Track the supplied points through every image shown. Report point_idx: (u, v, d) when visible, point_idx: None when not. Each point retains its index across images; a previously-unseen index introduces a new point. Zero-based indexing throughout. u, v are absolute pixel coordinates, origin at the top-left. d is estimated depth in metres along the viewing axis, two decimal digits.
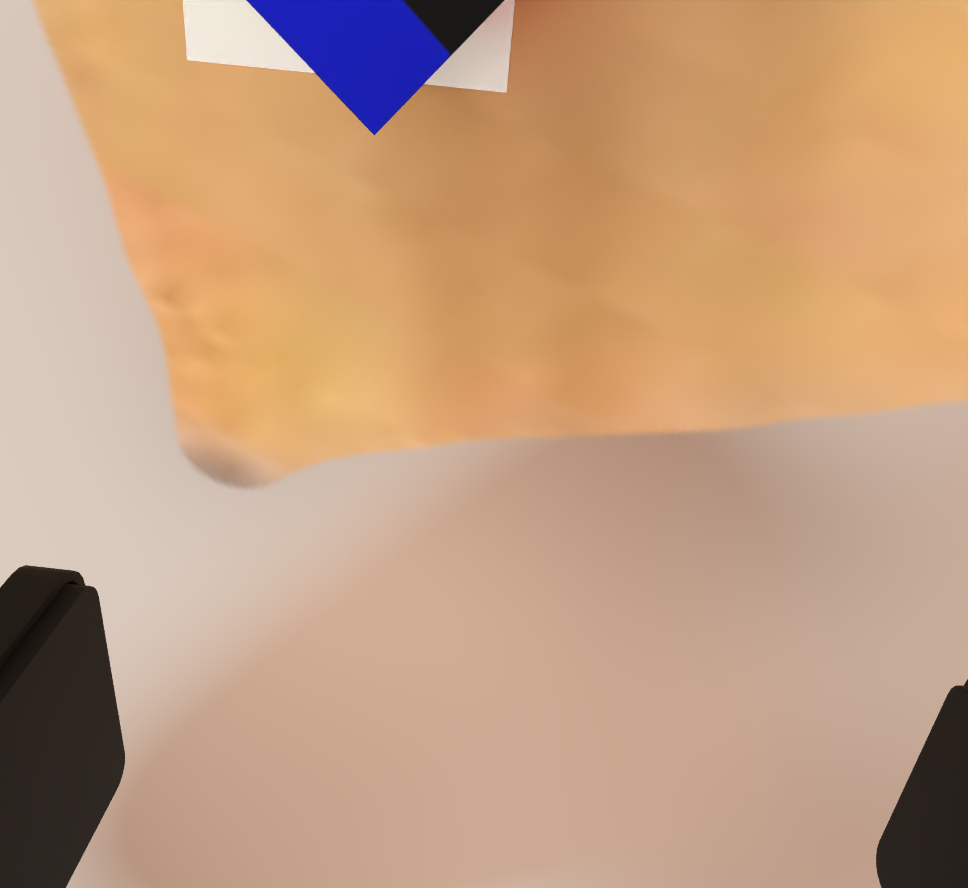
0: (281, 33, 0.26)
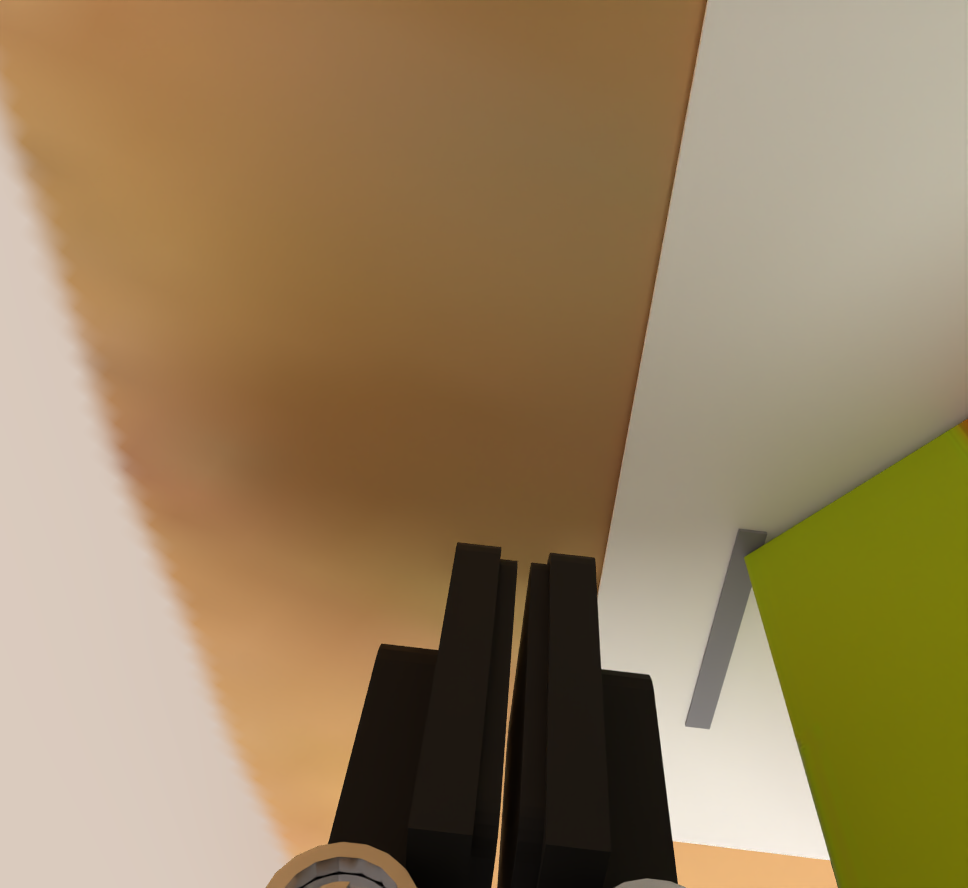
0: None
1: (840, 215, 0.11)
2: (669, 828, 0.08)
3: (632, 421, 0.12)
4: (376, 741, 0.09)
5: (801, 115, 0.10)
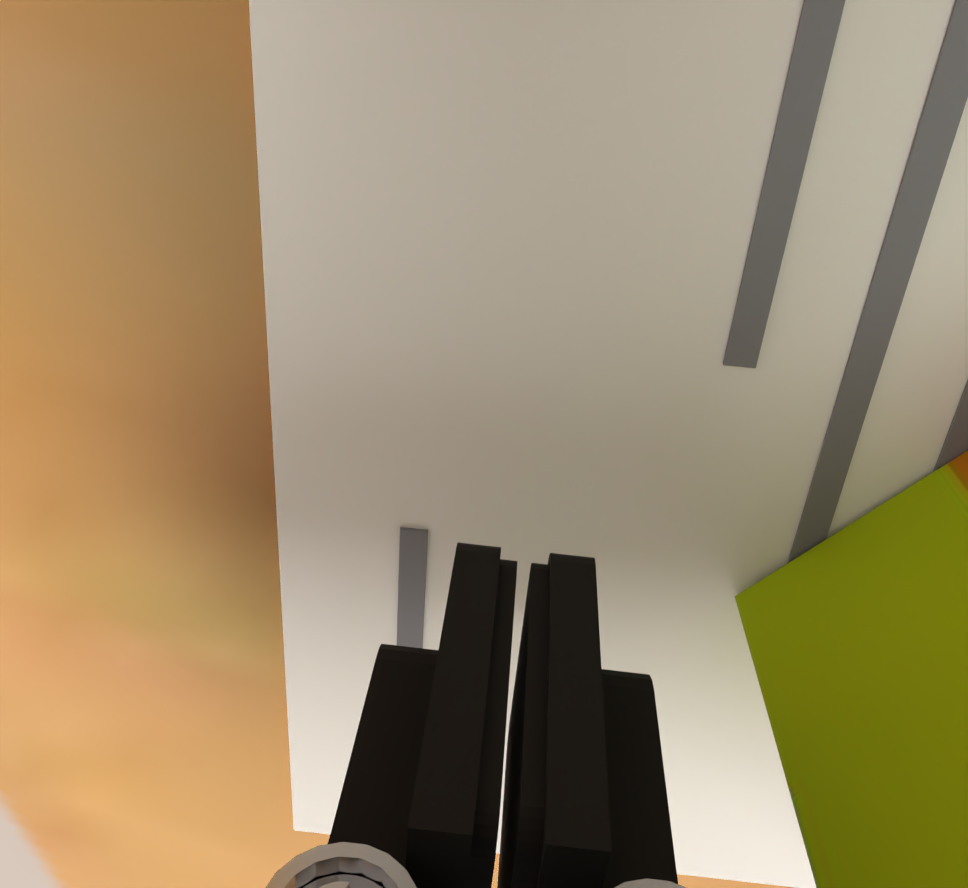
0: None
1: (429, 211, 0.11)
2: (669, 828, 0.08)
3: (273, 420, 0.12)
4: (376, 741, 0.09)
5: (368, 112, 0.10)
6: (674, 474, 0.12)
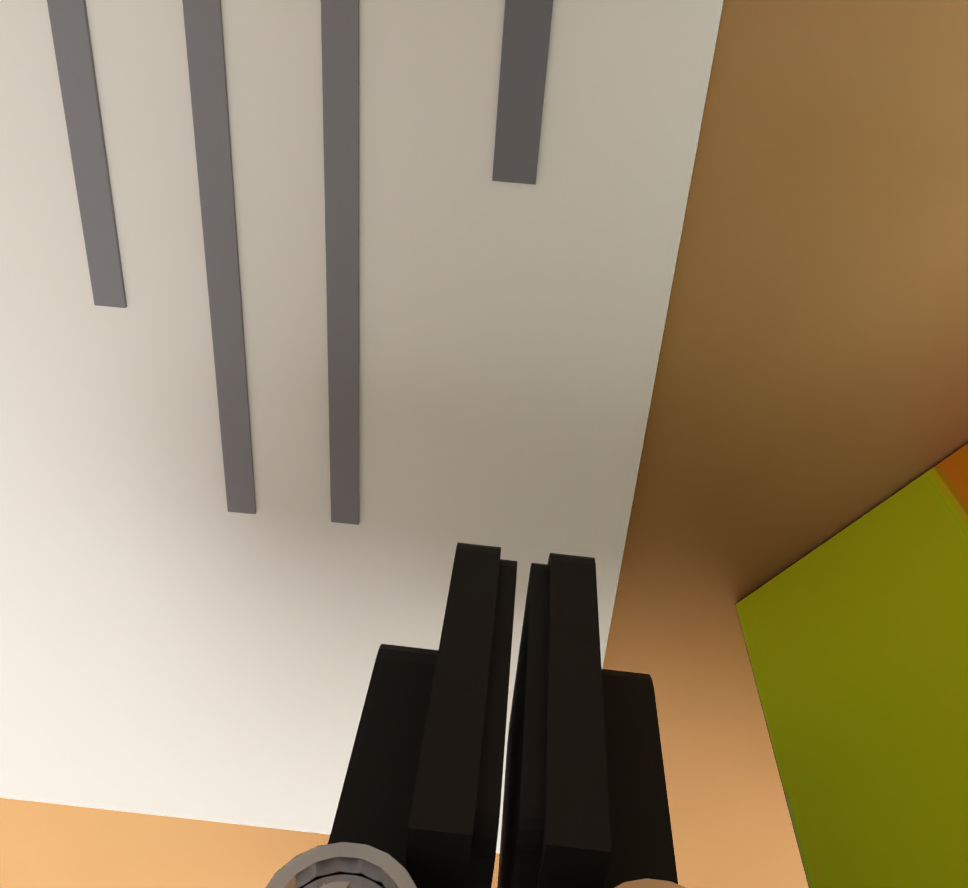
0: None
1: None
2: (669, 827, 0.08)
3: None
4: (376, 741, 0.09)
5: None
6: (97, 417, 0.12)
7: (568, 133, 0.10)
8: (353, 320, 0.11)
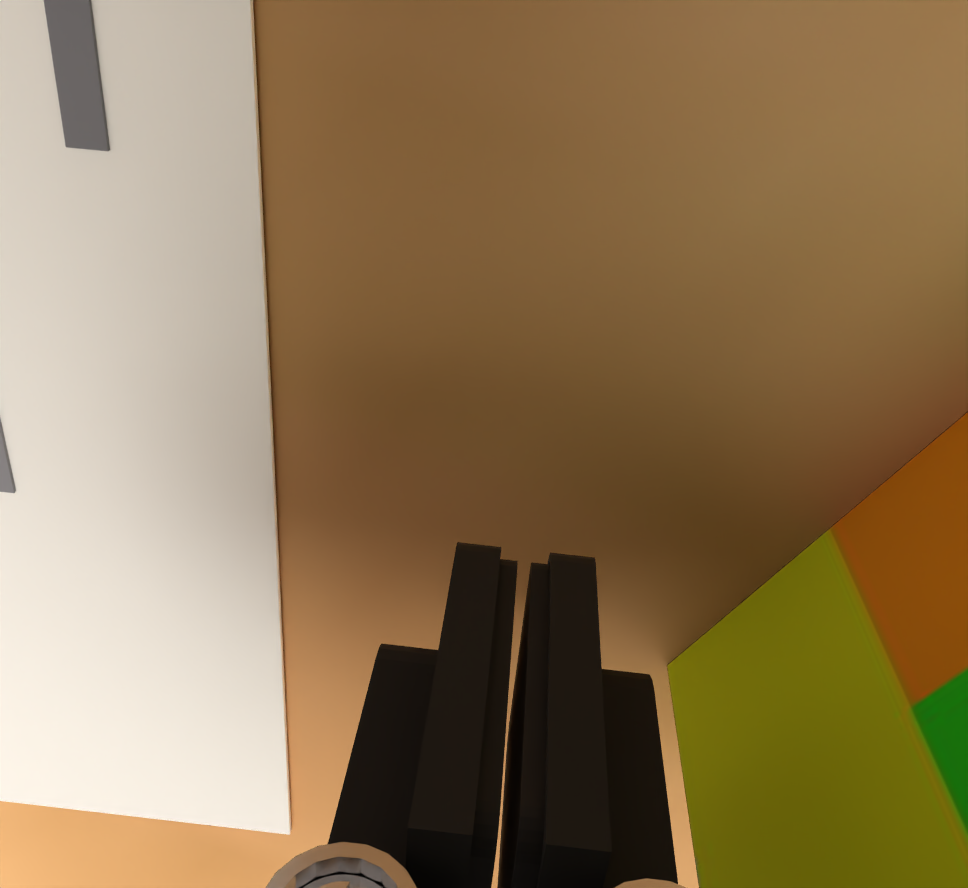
0: None
1: None
2: (669, 828, 0.08)
3: None
4: (376, 741, 0.09)
5: None
6: None
7: (129, 100, 0.10)
8: None
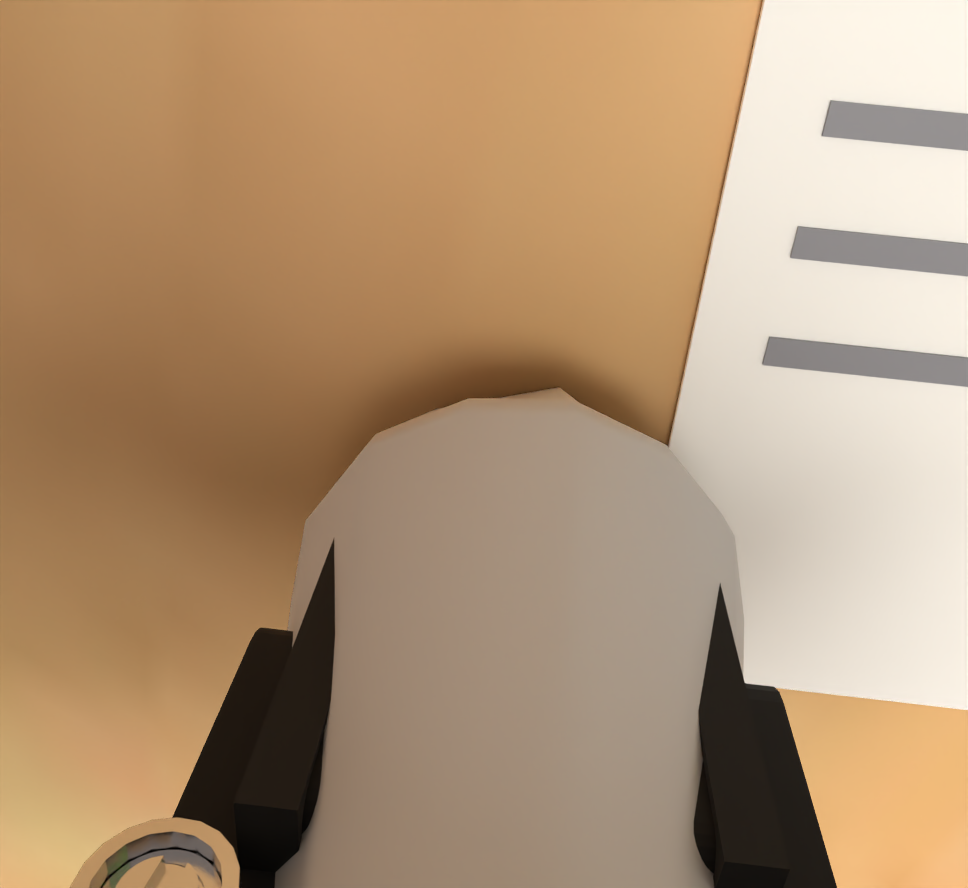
0: None
1: None
2: (823, 843, 0.08)
3: None
4: (236, 721, 0.09)
5: None
6: None
7: None
8: None
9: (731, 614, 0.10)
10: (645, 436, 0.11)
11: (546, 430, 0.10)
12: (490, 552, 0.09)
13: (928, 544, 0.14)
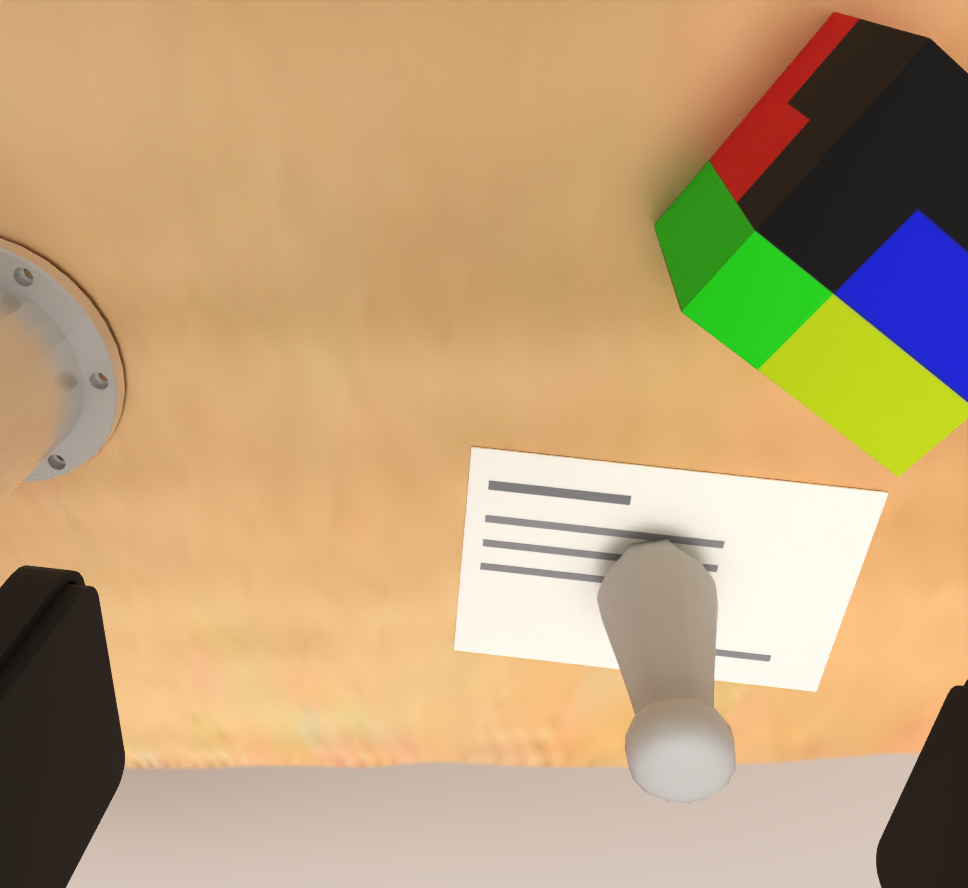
0: None
1: None
2: None
3: None
4: None
5: (590, 646, 0.49)
6: None
7: (620, 489, 0.44)
8: (662, 535, 0.45)
9: (714, 602, 0.42)
10: (693, 558, 0.43)
11: (671, 559, 0.42)
12: (663, 589, 0.41)
13: (535, 614, 0.48)
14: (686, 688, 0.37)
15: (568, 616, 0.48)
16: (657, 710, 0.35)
